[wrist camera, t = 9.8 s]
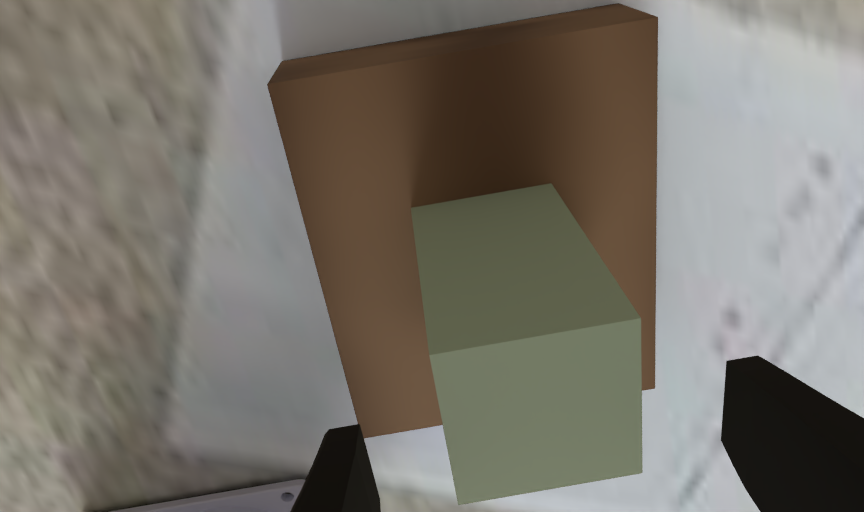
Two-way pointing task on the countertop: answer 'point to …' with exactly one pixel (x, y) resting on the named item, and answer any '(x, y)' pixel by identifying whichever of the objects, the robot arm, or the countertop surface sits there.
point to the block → (527, 346)
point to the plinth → (466, 171)
